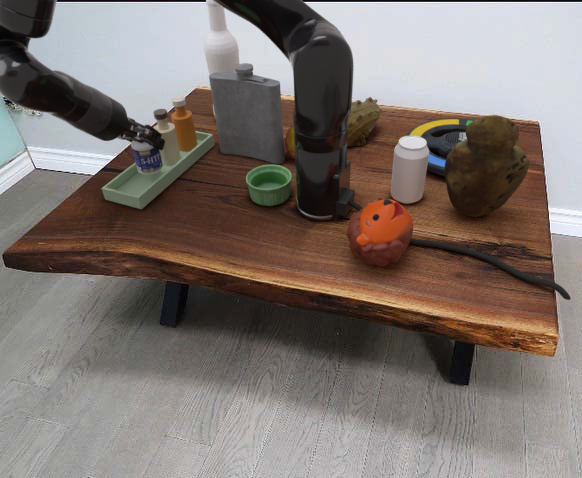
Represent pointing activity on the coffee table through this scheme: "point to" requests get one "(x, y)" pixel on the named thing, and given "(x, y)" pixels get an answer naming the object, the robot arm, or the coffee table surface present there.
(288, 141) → the fruit
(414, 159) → the beverage can
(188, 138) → the amber bottle
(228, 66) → the bottle
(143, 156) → the pill bottle
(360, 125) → the seashell
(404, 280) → the coffee table surface
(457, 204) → the sculpture
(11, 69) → the robot arm
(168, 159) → the cream bottle
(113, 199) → the tray
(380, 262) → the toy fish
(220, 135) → the hip flask
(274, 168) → the ramekin
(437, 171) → the electronic game
